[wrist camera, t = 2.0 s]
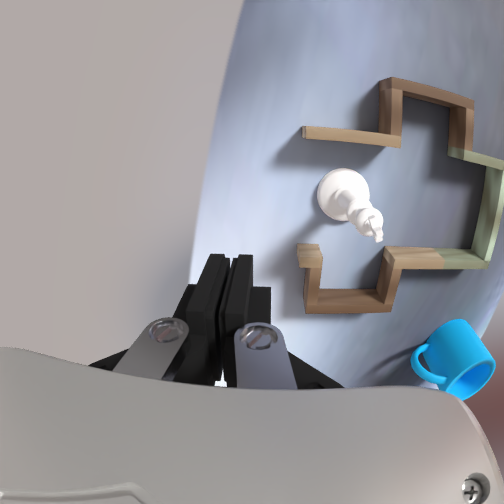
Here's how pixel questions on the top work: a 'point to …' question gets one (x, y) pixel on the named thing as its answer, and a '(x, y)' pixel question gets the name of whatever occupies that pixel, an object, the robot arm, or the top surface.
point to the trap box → (397, 258)
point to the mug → (455, 360)
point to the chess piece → (349, 201)
